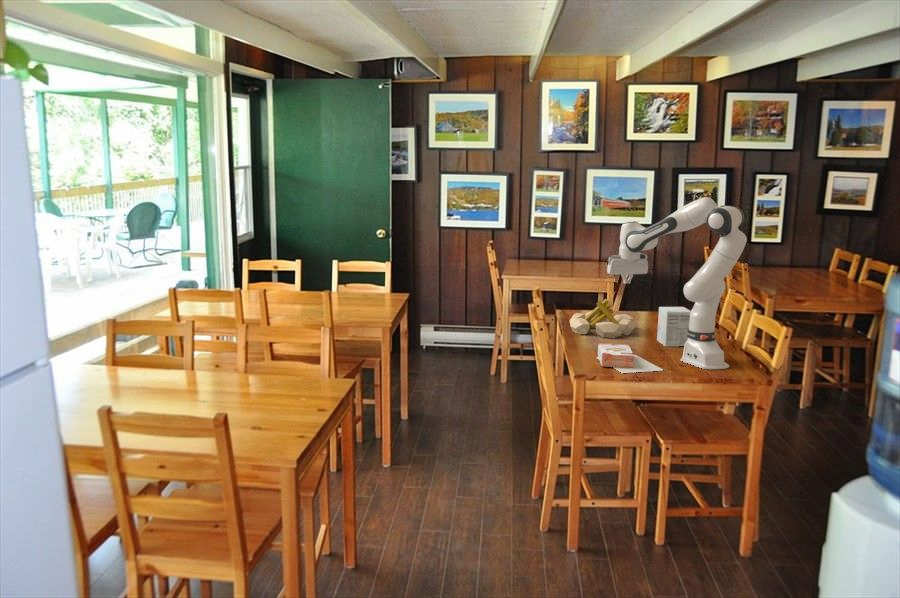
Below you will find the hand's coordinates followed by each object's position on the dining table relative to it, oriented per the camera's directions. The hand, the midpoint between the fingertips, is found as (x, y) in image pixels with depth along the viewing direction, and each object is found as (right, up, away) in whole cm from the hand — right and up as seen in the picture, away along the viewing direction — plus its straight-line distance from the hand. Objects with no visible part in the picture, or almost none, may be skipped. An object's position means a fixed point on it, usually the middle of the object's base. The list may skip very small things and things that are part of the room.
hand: (626, 283), depth 371 cm
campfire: (-5, -25, +37) cm, 45 cm away
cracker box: (-10, -31, -14) cm, 35 cm away
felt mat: (-5, -37, -27) cm, 46 cm away
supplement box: (+26, -30, +12) cm, 41 cm away
